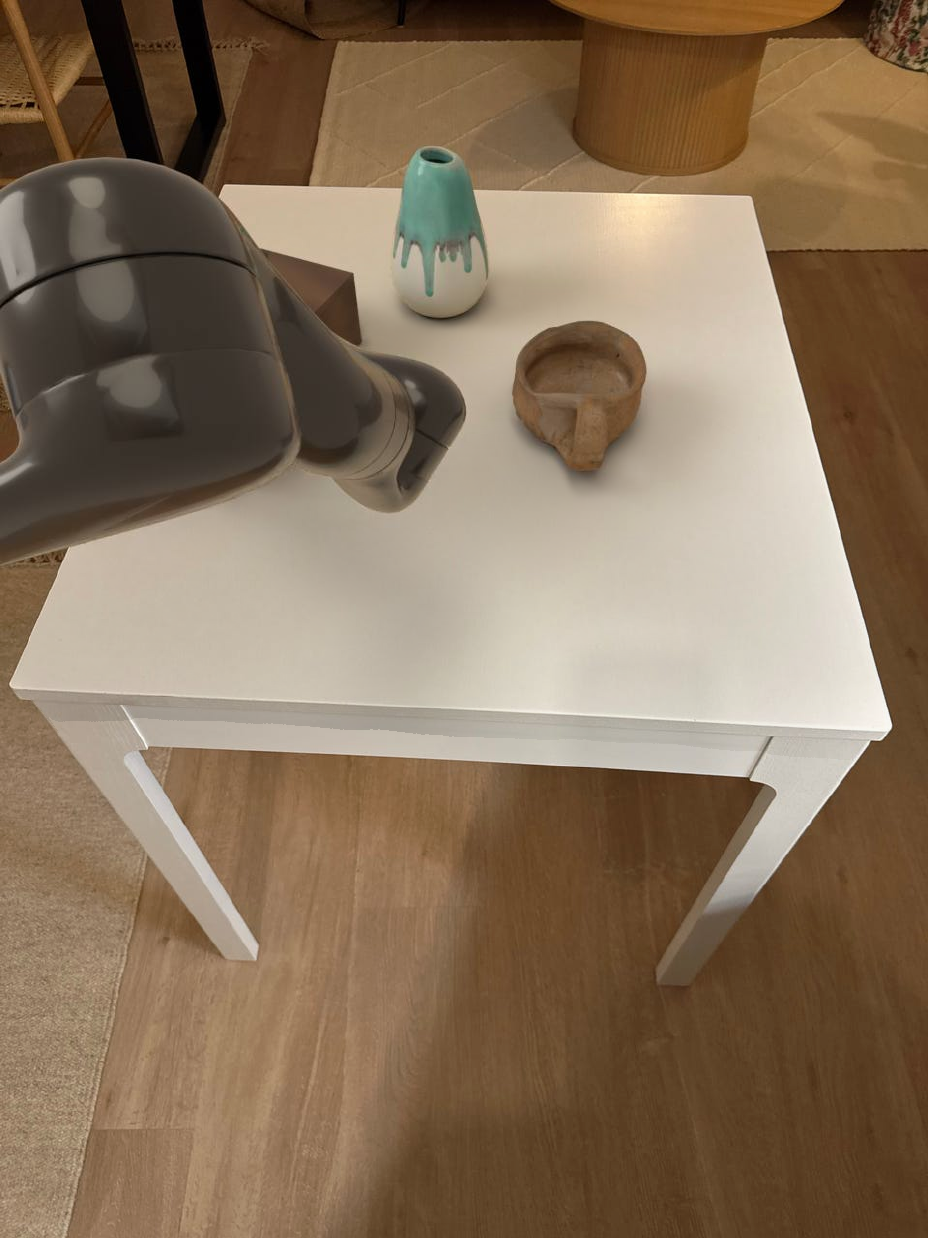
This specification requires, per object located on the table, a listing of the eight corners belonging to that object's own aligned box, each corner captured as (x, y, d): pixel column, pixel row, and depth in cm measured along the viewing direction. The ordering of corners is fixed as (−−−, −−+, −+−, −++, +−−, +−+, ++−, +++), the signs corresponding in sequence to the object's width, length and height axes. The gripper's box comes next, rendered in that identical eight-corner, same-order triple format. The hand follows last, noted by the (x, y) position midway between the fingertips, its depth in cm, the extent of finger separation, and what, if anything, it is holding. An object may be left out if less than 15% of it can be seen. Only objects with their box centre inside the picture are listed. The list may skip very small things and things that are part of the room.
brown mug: (690, 466, 89) (681, 393, 81) (557, 518, 90) (536, 452, 82) (627, 357, 100) (614, 284, 91) (509, 406, 101) (486, 337, 93)
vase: (494, 278, 112) (497, 129, 98) (481, 333, 105) (482, 182, 91) (403, 272, 113) (393, 123, 99) (385, 326, 106) (371, 175, 92)
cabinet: (294, 416, 97) (280, 347, 90) (197, 385, 100) (176, 316, 93) (362, 341, 105) (353, 272, 98) (269, 314, 108) (255, 246, 101)
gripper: (321, 255, 69) (198, 179, 77) (163, 333, 63) (46, 243, 71) (334, 338, 75) (218, 261, 83) (190, 417, 69) (80, 326, 77)
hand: (139, 253), depth 77 cm, fingers closed on soda can, 4 cm apart
